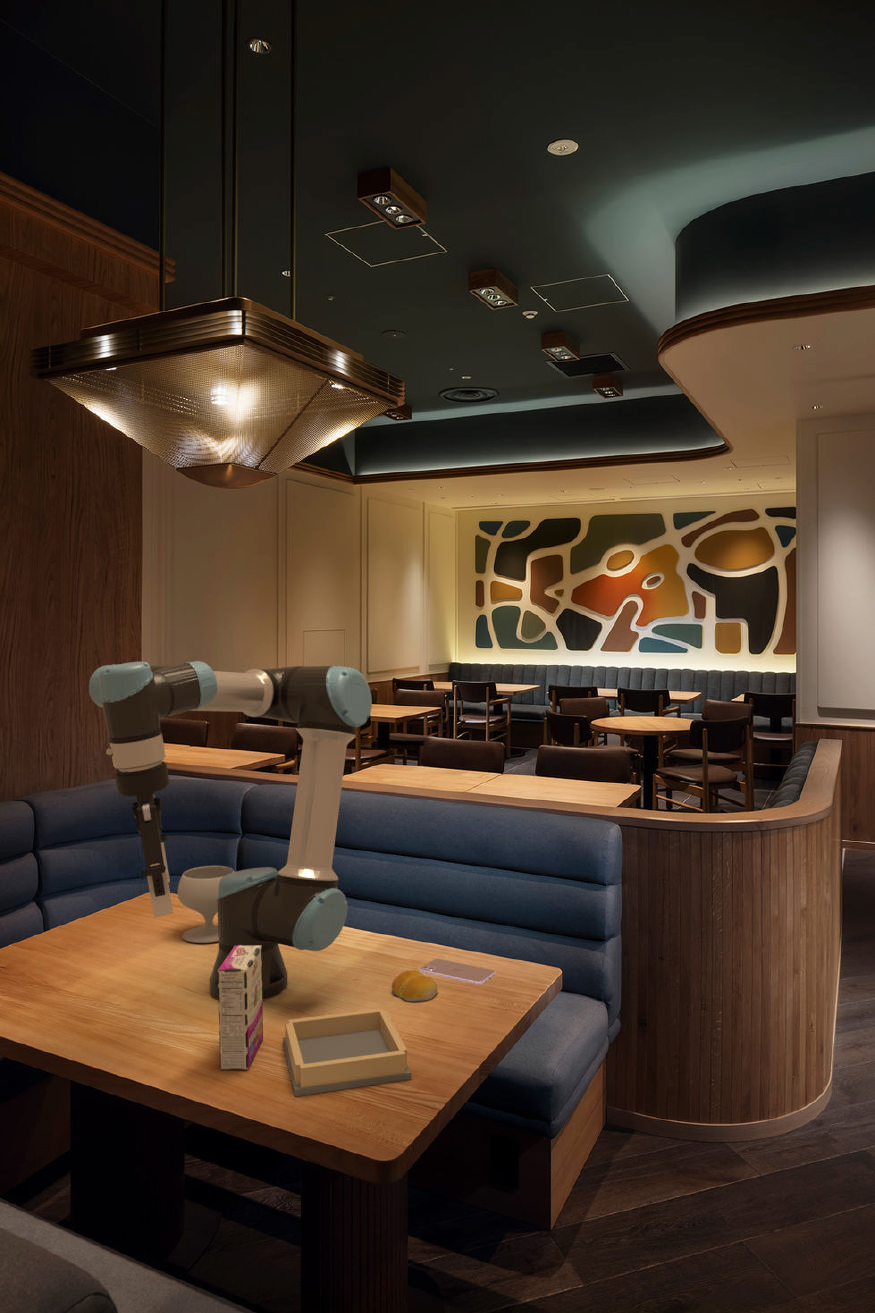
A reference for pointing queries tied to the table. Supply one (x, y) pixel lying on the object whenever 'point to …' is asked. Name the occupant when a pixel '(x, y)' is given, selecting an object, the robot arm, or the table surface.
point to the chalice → (202, 899)
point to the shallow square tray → (344, 1052)
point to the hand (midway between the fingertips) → (162, 898)
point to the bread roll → (414, 986)
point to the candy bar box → (240, 1007)
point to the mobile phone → (458, 971)
